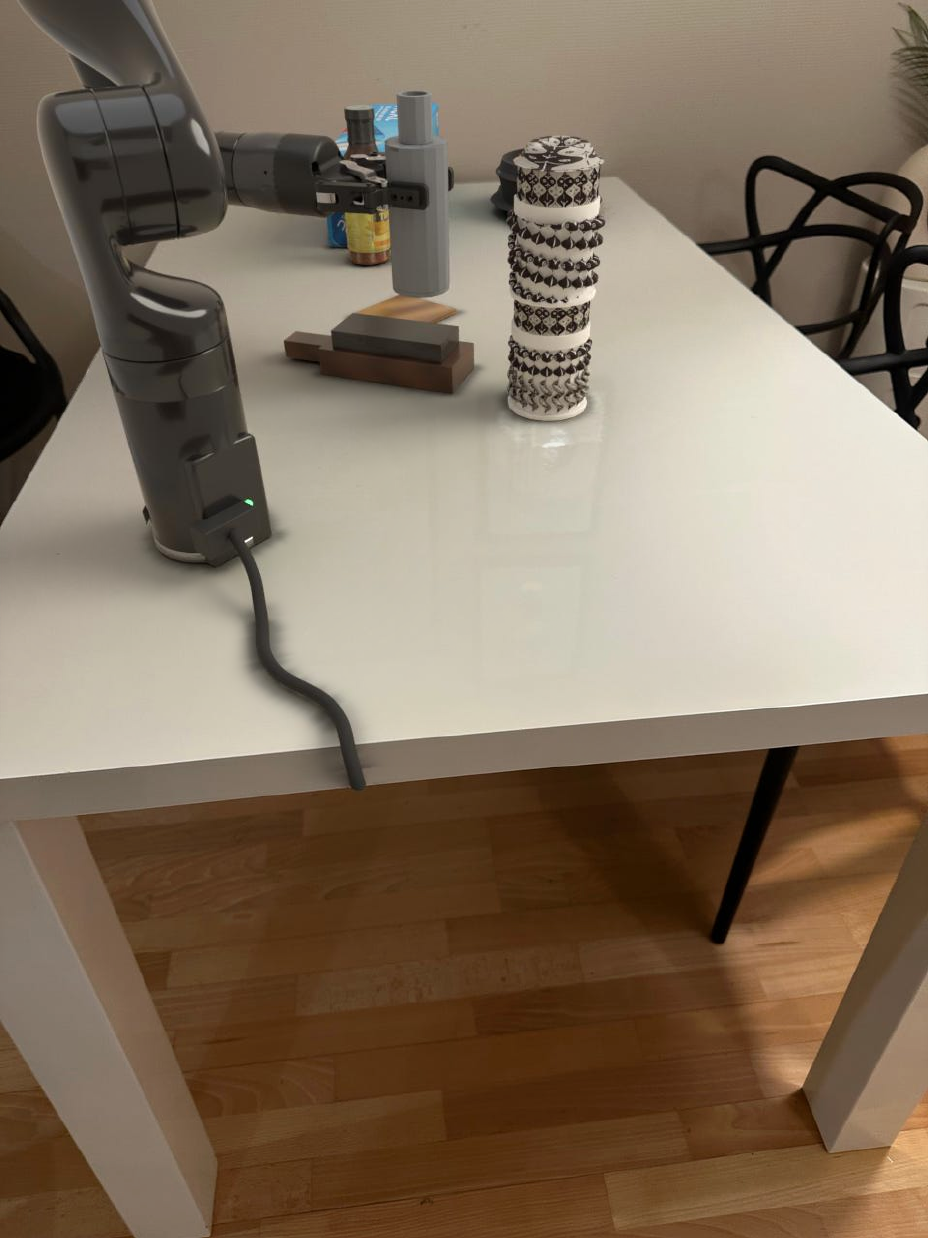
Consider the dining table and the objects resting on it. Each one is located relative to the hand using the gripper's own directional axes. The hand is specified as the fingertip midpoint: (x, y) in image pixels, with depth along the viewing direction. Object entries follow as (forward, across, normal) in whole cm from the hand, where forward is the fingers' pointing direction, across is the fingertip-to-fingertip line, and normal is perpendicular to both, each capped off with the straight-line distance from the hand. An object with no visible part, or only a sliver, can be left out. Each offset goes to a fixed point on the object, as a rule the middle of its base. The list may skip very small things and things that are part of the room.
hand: (440, 187), depth 88 cm
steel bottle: (-2, 0, +10) cm, 10 cm away
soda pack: (-32, +58, +20) cm, 70 cm away
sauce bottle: (-25, +35, +20) cm, 47 cm away
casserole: (-7, +66, +20) cm, 70 cm away
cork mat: (-12, +16, +20) cm, 28 cm away
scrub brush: (-8, 0, +20) cm, 22 cm away
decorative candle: (+13, -3, +20) cm, 24 cm away
